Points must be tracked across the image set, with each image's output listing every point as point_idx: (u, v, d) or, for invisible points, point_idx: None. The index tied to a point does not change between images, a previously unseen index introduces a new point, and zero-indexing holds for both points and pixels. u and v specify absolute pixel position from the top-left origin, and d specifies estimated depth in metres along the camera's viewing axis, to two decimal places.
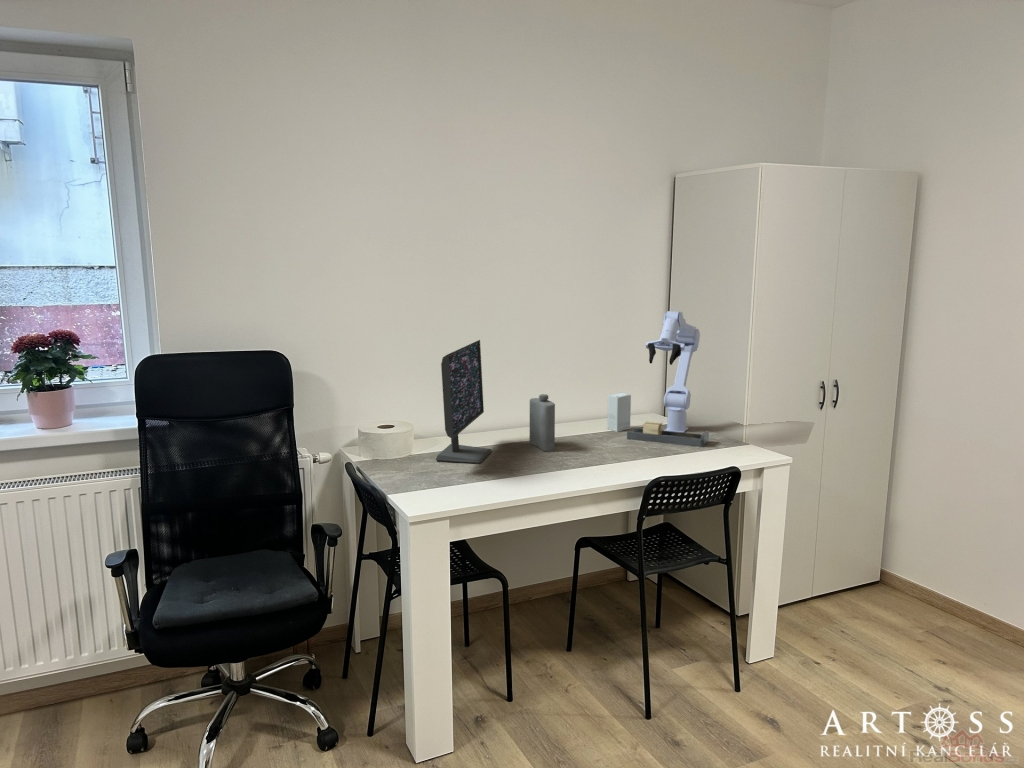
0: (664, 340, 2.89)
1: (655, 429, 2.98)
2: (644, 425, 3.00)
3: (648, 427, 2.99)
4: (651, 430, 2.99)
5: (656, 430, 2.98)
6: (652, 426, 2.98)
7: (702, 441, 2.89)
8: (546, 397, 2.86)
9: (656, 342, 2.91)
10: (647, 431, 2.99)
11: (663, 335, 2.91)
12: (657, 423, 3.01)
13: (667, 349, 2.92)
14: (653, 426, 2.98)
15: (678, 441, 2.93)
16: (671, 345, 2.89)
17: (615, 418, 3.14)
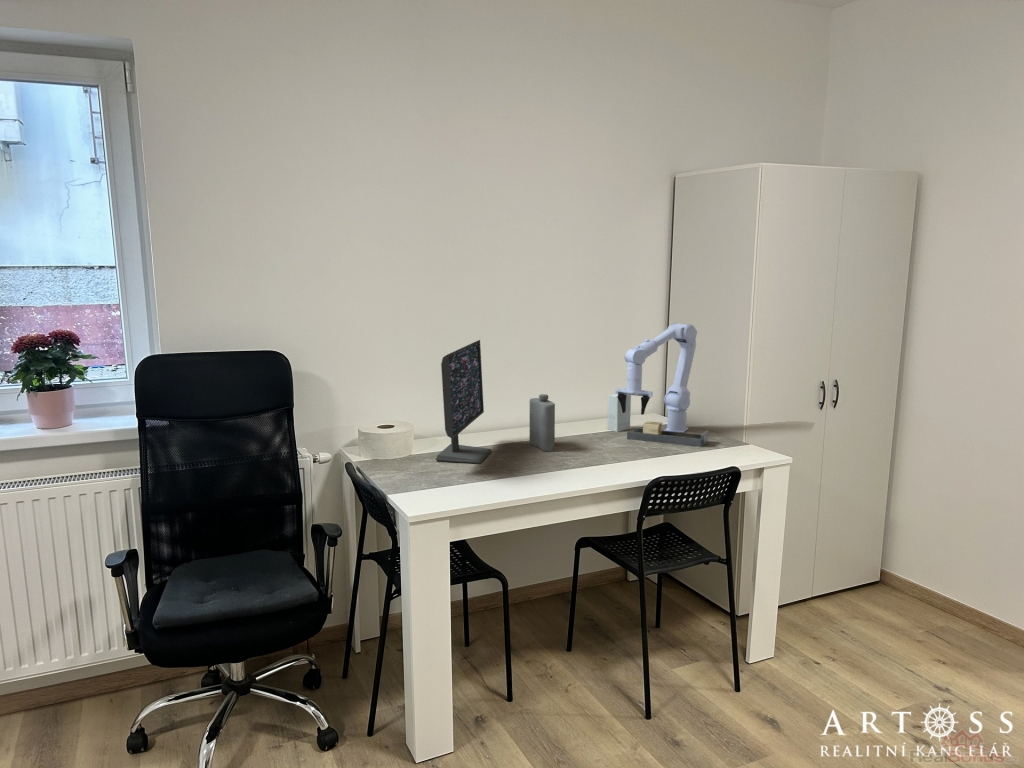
0: (632, 393, 3.00)
1: (655, 429, 2.98)
2: (644, 425, 3.00)
3: (648, 427, 2.99)
4: (651, 430, 2.99)
5: (656, 430, 2.98)
6: (652, 426, 2.98)
7: (702, 441, 2.89)
8: (546, 397, 2.86)
9: None
10: (647, 431, 2.99)
11: (629, 386, 3.00)
12: (657, 423, 3.01)
13: None
14: (653, 426, 2.98)
15: (678, 441, 2.93)
16: (639, 394, 3.01)
17: (615, 418, 3.14)
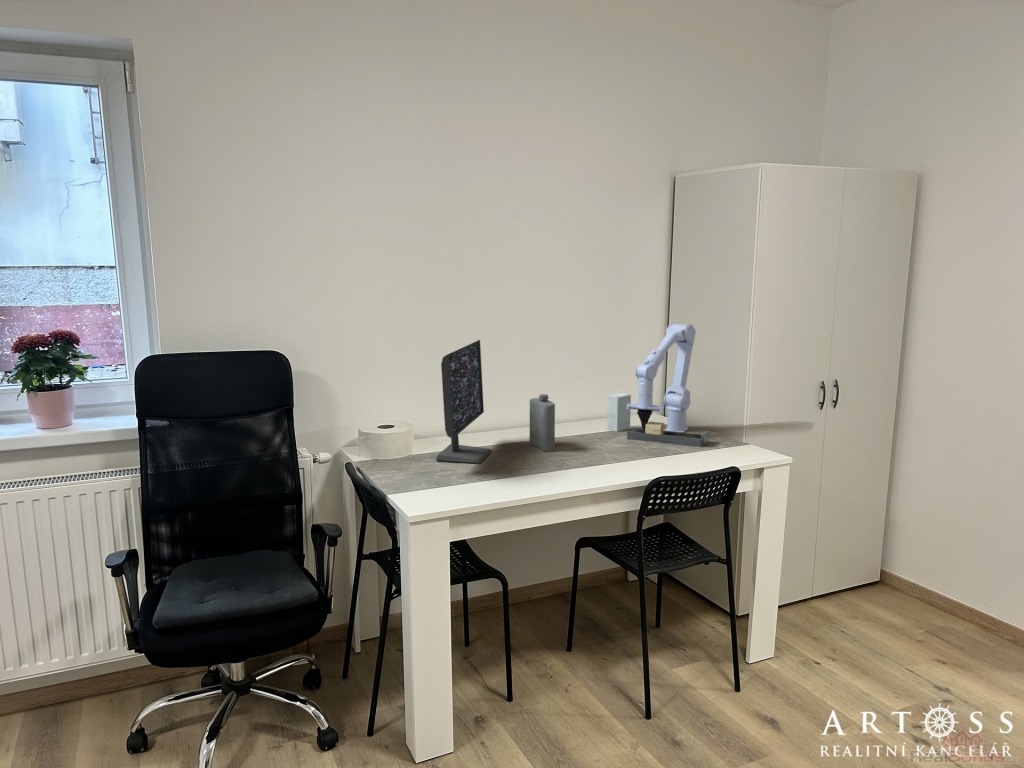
0: (643, 408, 2.99)
1: (657, 429, 2.98)
2: (646, 425, 2.99)
3: (650, 427, 2.99)
4: (653, 430, 2.98)
5: (658, 430, 2.97)
6: (655, 426, 2.98)
7: (702, 441, 2.89)
8: (546, 397, 2.86)
9: (636, 407, 3.01)
10: (649, 431, 2.99)
11: (640, 401, 2.99)
12: (659, 423, 3.01)
13: None
14: (655, 426, 2.98)
15: (678, 441, 2.93)
16: (650, 409, 3.00)
17: (615, 418, 3.14)
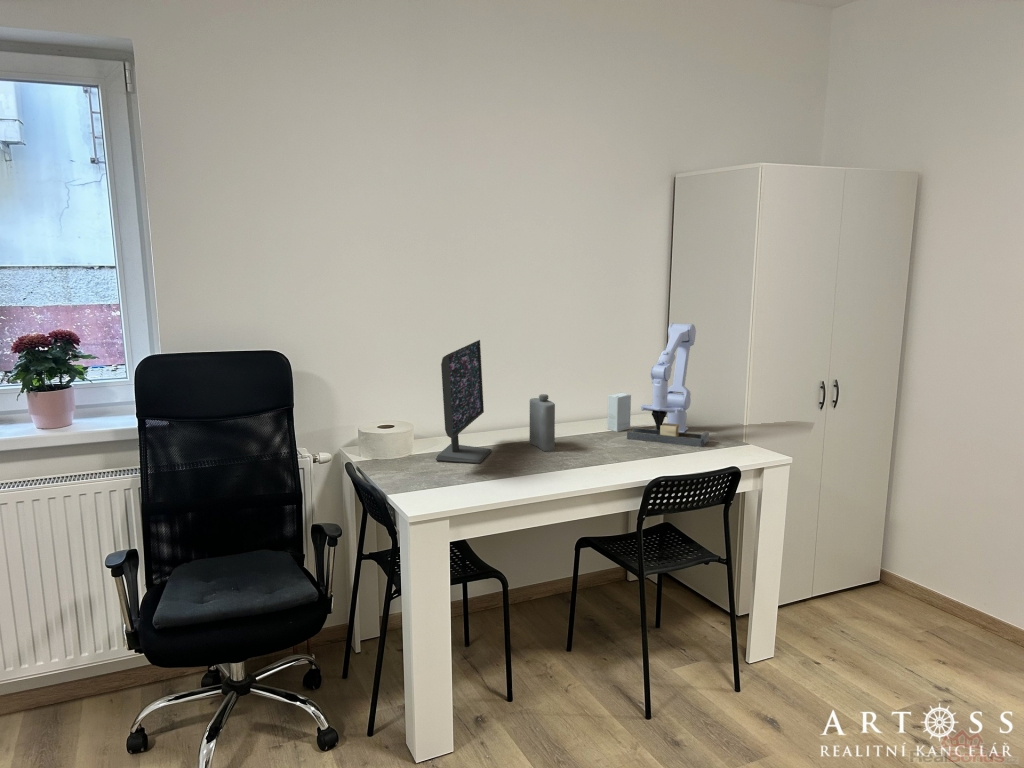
0: (657, 410, 2.96)
1: (672, 431, 2.95)
2: (661, 427, 2.97)
3: (665, 429, 2.96)
4: (668, 432, 2.96)
5: (673, 432, 2.95)
6: (670, 428, 2.95)
7: (702, 441, 2.89)
8: (546, 397, 2.86)
9: (650, 408, 2.99)
10: (664, 433, 2.97)
11: (655, 402, 2.97)
12: (674, 425, 2.98)
13: None
14: (670, 428, 2.95)
15: (678, 441, 2.93)
16: (665, 410, 2.97)
17: (615, 418, 3.14)
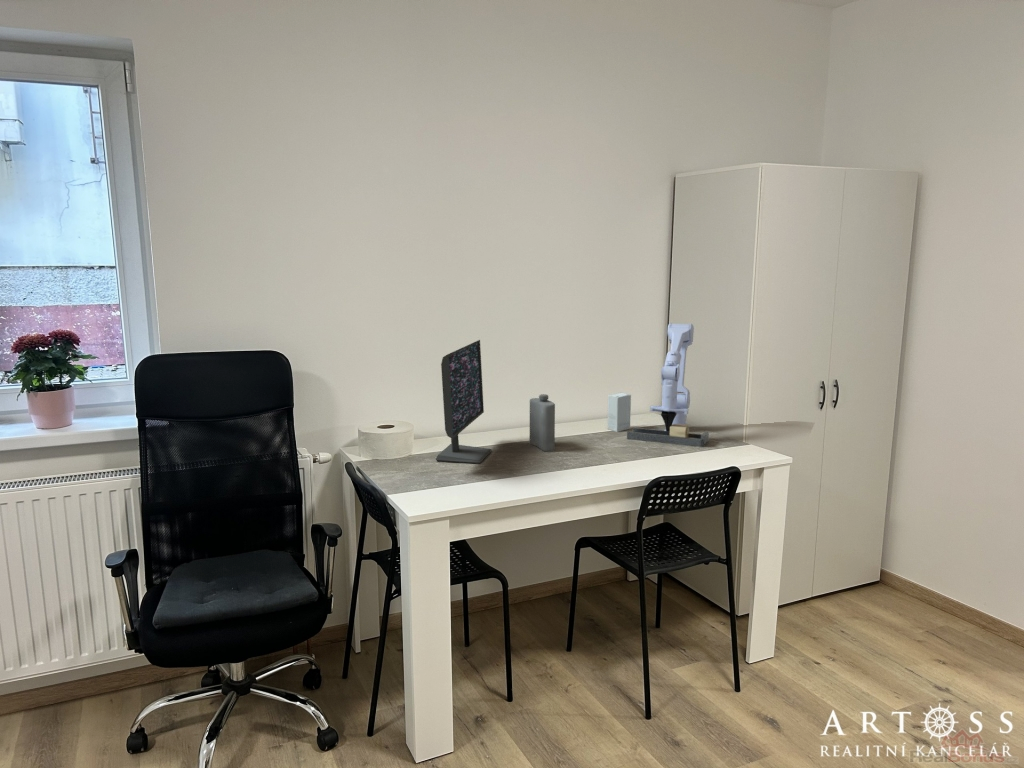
0: (667, 410, 2.95)
1: (682, 432, 2.93)
2: (671, 428, 2.95)
3: (675, 430, 2.95)
4: (678, 433, 2.94)
5: (683, 433, 2.93)
6: (679, 429, 2.94)
7: (702, 441, 2.89)
8: (546, 397, 2.86)
9: (660, 409, 2.97)
10: (674, 434, 2.95)
11: (665, 403, 2.95)
12: (684, 426, 2.97)
13: None
14: (680, 429, 2.94)
15: (678, 441, 2.93)
16: (675, 411, 2.96)
17: (615, 418, 3.14)
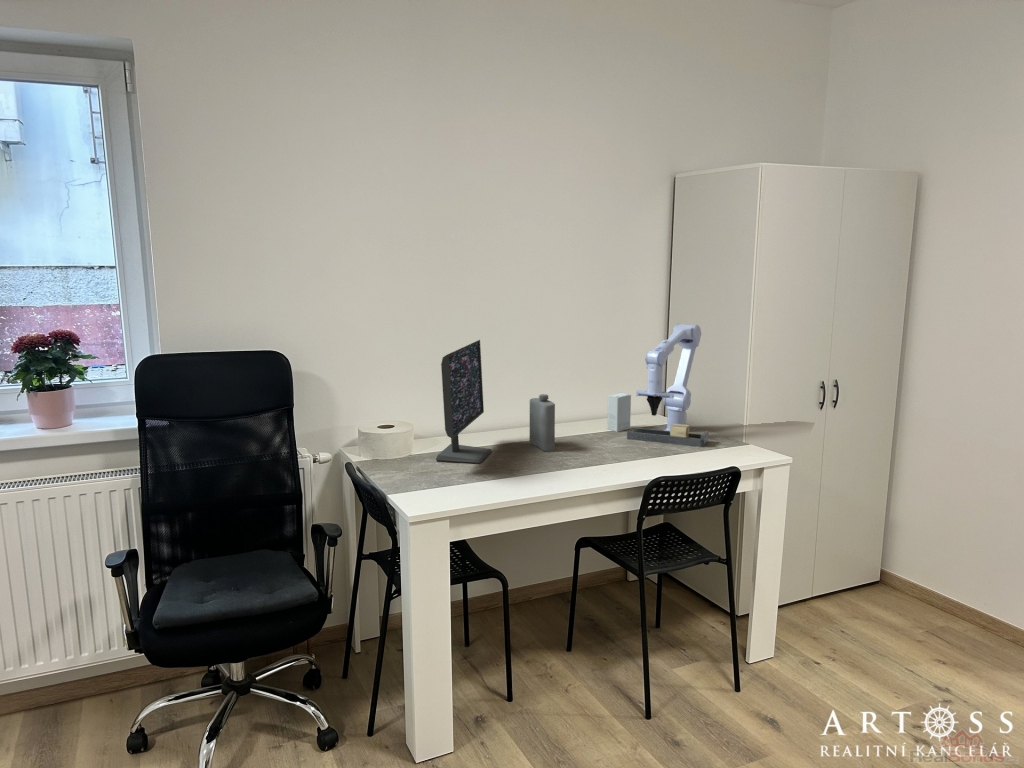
0: None
1: (683, 432, 2.93)
2: (671, 428, 2.95)
3: (675, 430, 2.94)
4: (678, 433, 2.94)
5: (684, 433, 2.93)
6: (680, 429, 2.94)
7: (702, 441, 2.89)
8: (546, 397, 2.86)
9: (645, 394, 3.00)
10: (674, 434, 2.95)
11: (650, 388, 2.98)
12: (684, 426, 2.96)
13: None
14: (681, 429, 2.93)
15: (678, 441, 2.93)
16: (660, 396, 2.98)
17: (615, 418, 3.14)
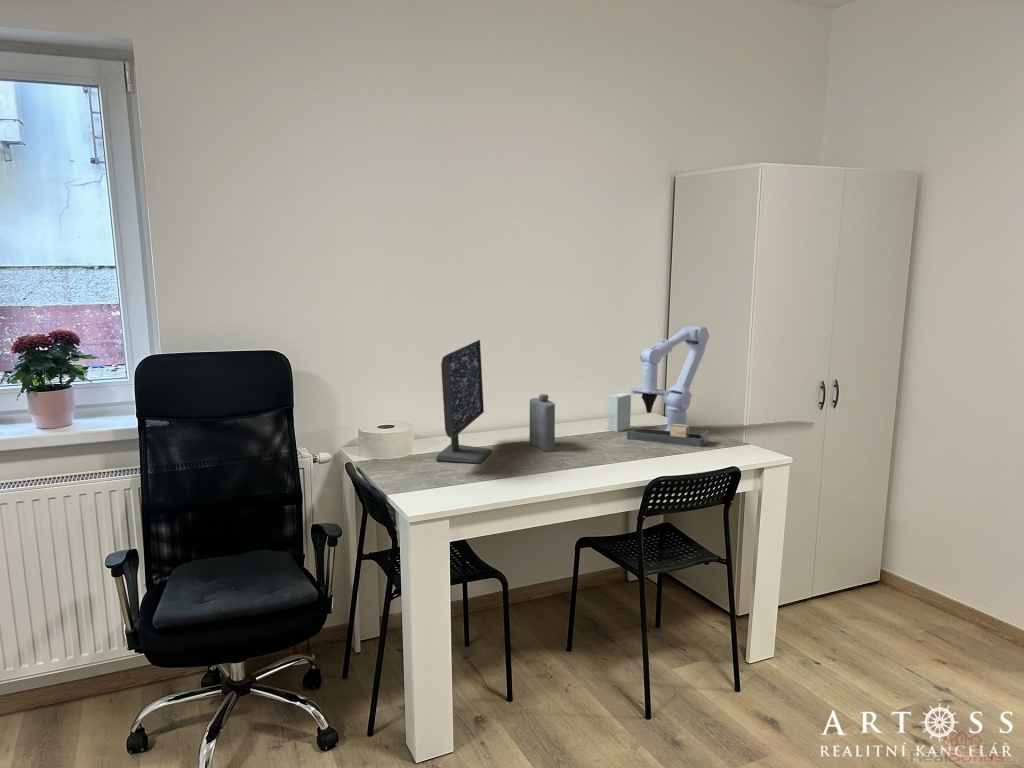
0: (647, 392, 3.02)
1: (683, 432, 2.93)
2: (671, 428, 2.95)
3: (675, 430, 2.94)
4: (678, 433, 2.94)
5: (684, 433, 2.93)
6: (680, 429, 2.94)
7: (702, 441, 2.89)
8: (546, 397, 2.86)
9: (640, 391, 3.05)
10: (674, 434, 2.95)
11: (645, 385, 3.02)
12: (684, 426, 2.96)
13: None
14: (681, 429, 2.93)
15: (678, 441, 2.93)
16: (655, 393, 3.03)
17: (615, 418, 3.14)
